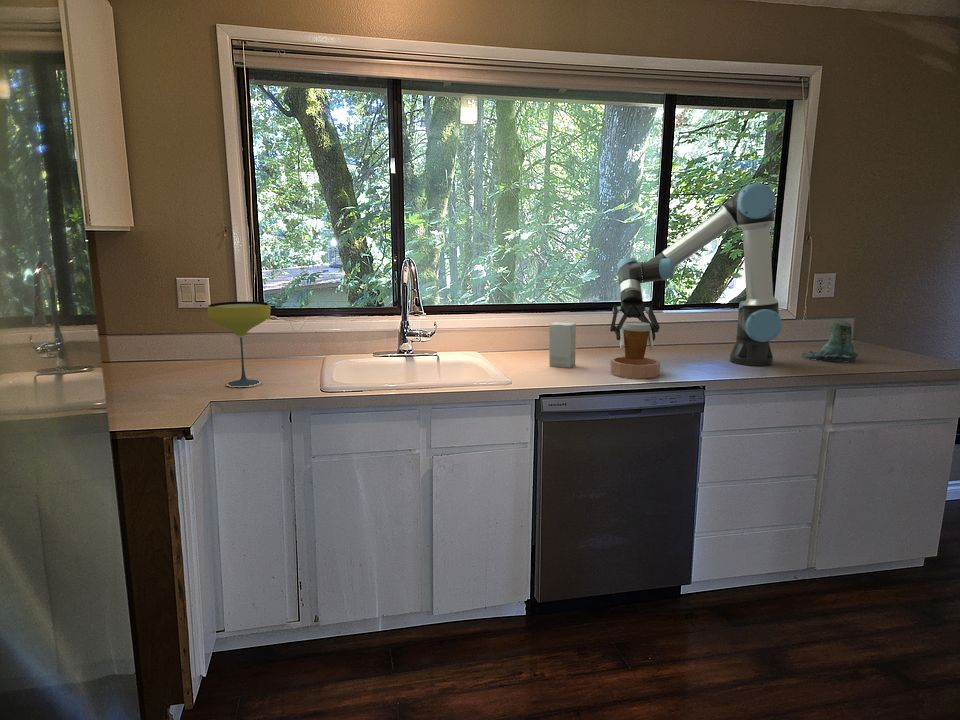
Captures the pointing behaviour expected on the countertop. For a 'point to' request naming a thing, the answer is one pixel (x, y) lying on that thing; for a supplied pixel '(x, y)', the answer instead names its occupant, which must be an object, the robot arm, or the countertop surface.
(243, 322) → the cocktail glass
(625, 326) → the disposable coffee cup
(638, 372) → the terracotta dish
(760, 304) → the robot arm
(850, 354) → the tree stump
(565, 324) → the skincare box
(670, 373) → the countertop surface
